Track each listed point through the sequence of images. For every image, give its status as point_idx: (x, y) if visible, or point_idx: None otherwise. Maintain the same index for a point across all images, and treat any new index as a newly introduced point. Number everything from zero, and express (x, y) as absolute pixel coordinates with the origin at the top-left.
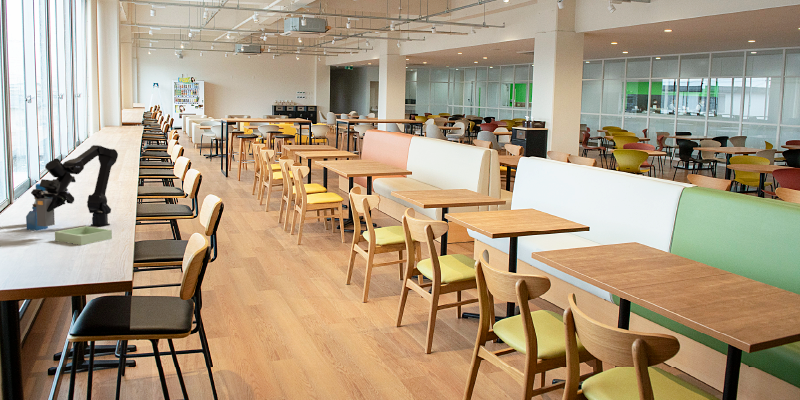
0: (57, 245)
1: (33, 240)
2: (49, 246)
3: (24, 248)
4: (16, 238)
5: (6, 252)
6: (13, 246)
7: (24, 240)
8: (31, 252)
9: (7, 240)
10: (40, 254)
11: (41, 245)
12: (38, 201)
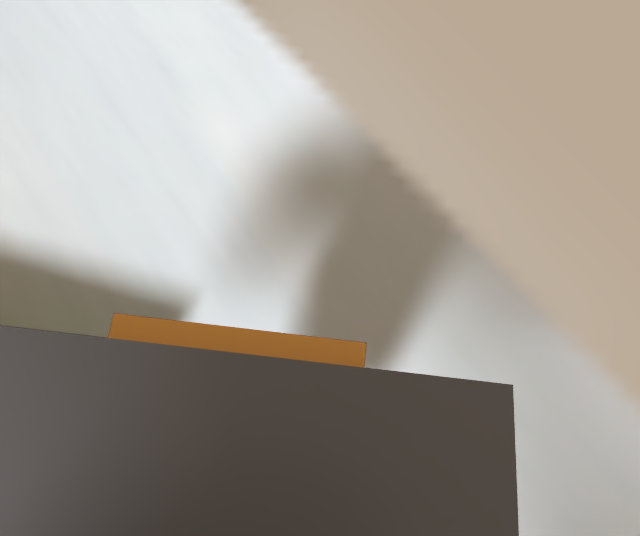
0: (37, 230)
1: (323, 334)
2: (79, 188)
3: (209, 103)
4: (502, 361)
5: (242, 7)
6: (315, 132)
7: (388, 313)
8: (102, 33)
9: (501, 277)
10: (22, 6)
11: (154, 200)
12: (318, 343)
